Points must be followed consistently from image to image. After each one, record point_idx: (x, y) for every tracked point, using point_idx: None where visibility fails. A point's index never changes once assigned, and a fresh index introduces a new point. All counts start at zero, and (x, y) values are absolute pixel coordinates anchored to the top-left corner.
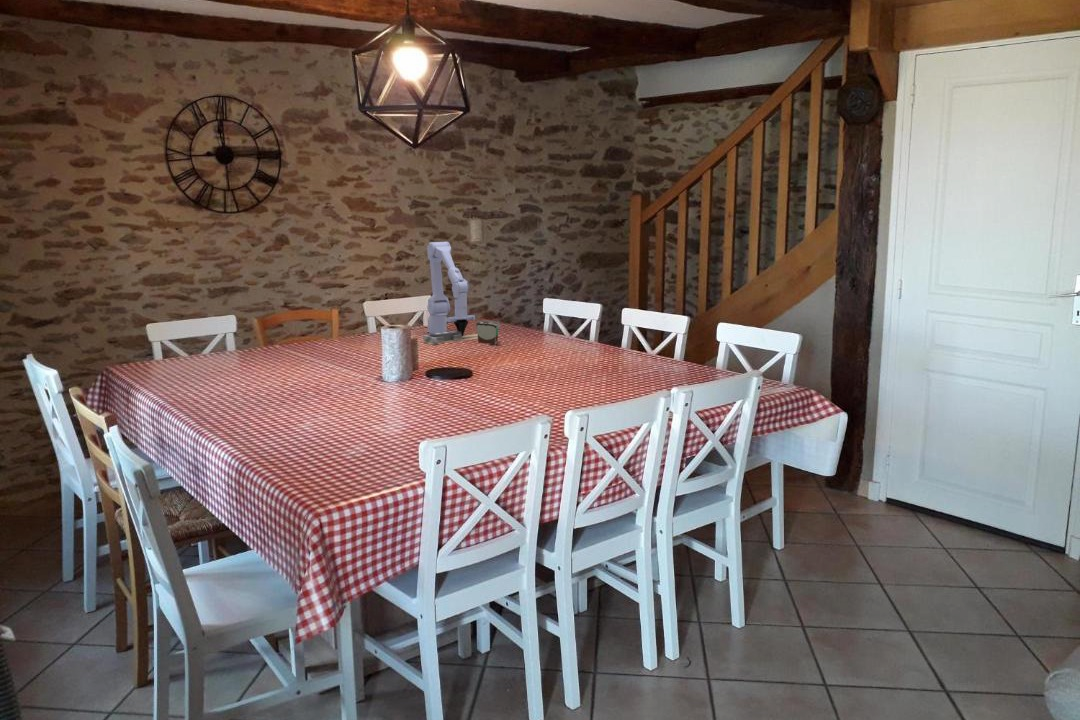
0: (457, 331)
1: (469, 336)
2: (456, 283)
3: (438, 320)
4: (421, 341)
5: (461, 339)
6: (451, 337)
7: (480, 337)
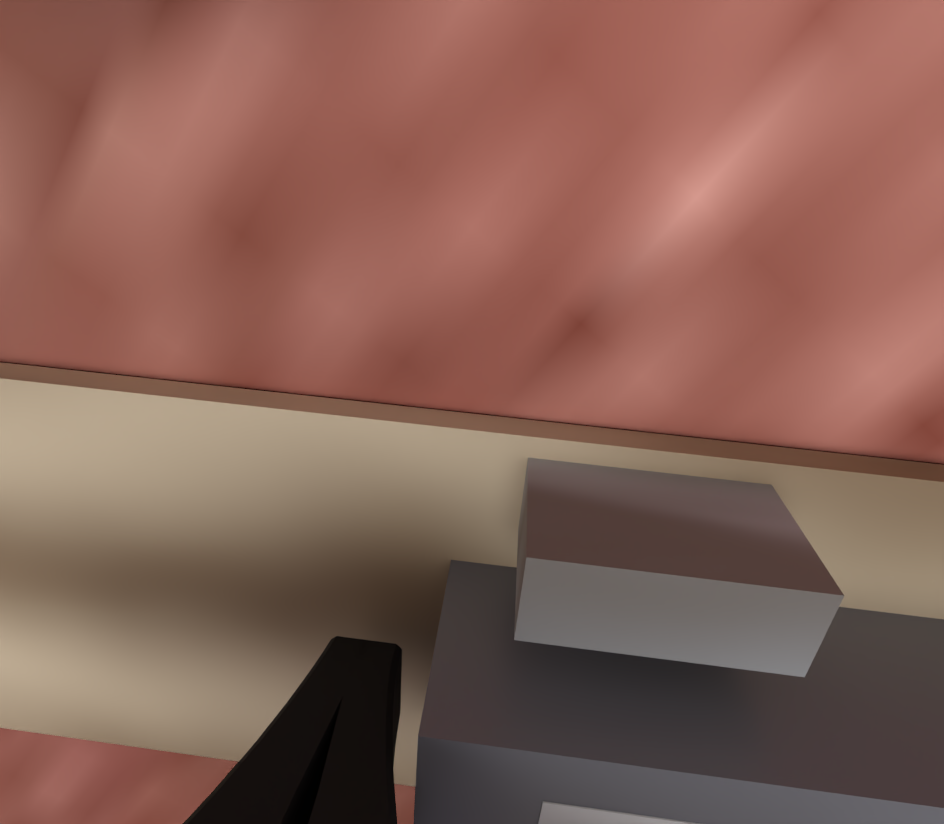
0: (481, 815)
1: (128, 647)
2: None
3: None
4: None
5: (545, 471)
6: None
7: None
